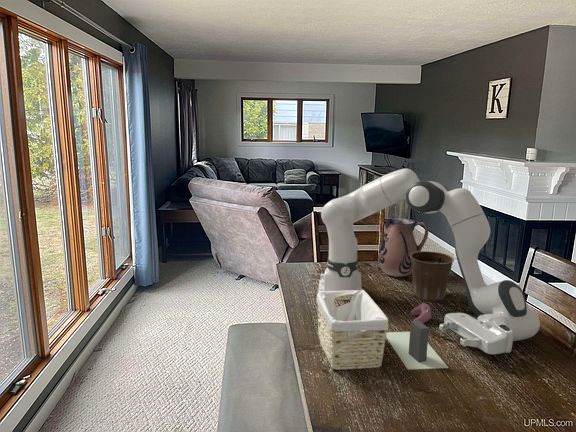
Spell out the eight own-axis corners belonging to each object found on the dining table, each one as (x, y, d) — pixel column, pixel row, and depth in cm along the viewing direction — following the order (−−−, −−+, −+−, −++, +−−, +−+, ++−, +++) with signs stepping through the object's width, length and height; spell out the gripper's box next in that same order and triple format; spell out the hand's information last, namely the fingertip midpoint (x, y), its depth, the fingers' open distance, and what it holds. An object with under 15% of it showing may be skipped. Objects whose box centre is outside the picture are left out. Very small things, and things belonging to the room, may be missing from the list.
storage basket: (314, 333, 139) (315, 289, 137) (363, 331, 141) (365, 288, 138) (329, 374, 116) (331, 322, 113) (388, 371, 118) (391, 320, 115)
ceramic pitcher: (374, 267, 207) (376, 216, 202) (418, 268, 207) (422, 217, 202) (380, 280, 190) (383, 224, 185) (429, 281, 189) (433, 224, 185)
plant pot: (451, 306, 162) (454, 265, 159) (406, 300, 167) (408, 260, 164) (450, 291, 177) (453, 253, 174) (408, 286, 182) (411, 249, 179)
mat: (383, 333, 139) (383, 332, 139) (418, 332, 140) (418, 331, 140) (407, 371, 118) (407, 369, 118) (448, 369, 119) (448, 367, 119)
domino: (408, 353, 126) (410, 321, 124) (416, 352, 127) (418, 320, 125) (418, 362, 121) (420, 329, 119) (426, 361, 122) (429, 327, 120)
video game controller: (424, 331, 145) (435, 314, 143) (411, 324, 145) (422, 307, 144) (420, 319, 155) (431, 303, 153) (409, 312, 155) (419, 296, 153)
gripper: (467, 306, 139) (430, 310, 135) (517, 334, 120) (476, 340, 116) (465, 324, 141) (428, 329, 137) (515, 355, 121) (473, 362, 117)
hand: (450, 334), depth 126 cm, fingers open, 8 cm apart
